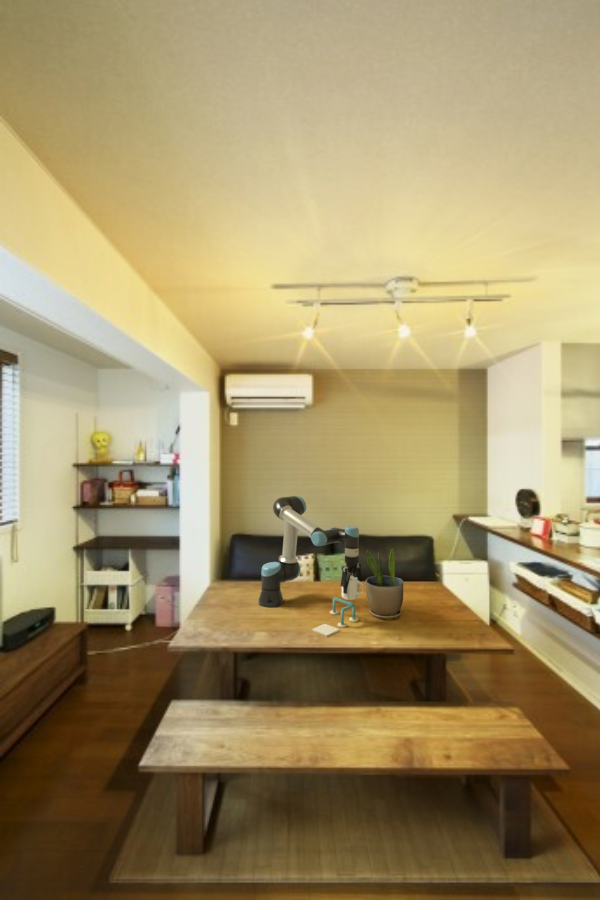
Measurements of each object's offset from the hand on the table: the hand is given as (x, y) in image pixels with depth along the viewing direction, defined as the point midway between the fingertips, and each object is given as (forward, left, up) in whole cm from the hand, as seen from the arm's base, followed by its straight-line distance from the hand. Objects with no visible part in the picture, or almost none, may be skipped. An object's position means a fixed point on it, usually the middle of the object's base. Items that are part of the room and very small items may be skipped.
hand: (351, 596), depth 221 cm
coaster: (-2, -19, -13) cm, 23 cm away
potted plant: (+7, +21, -14) cm, 26 cm away
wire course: (-7, -3, -13) cm, 15 cm away
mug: (0, +1, -1) cm, 1 cm away
